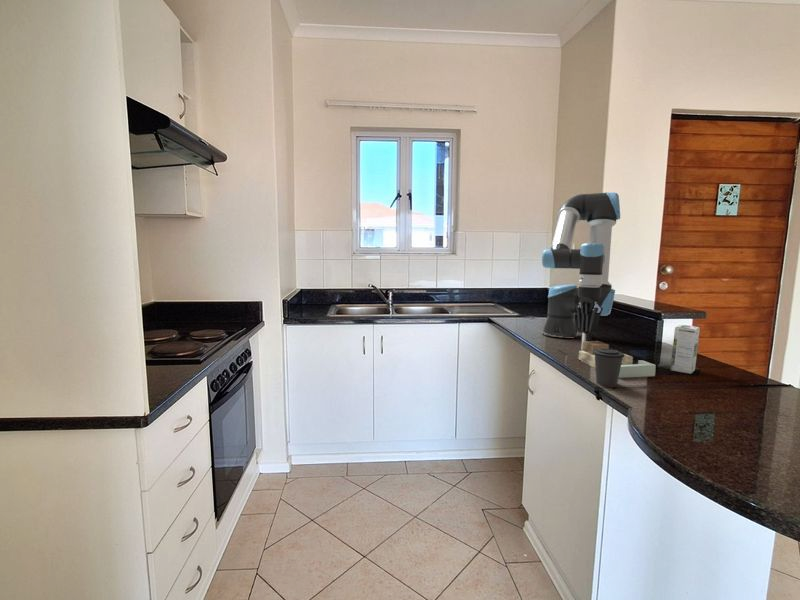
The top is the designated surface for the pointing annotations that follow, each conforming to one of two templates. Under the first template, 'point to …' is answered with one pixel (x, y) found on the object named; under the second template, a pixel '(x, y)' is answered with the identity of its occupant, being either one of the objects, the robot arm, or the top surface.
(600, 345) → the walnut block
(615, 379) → the coffee cup
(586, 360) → the tunnel
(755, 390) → the top surface
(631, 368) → the backstop bay
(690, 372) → the syrup box
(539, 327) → the top surface
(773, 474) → the top surface
